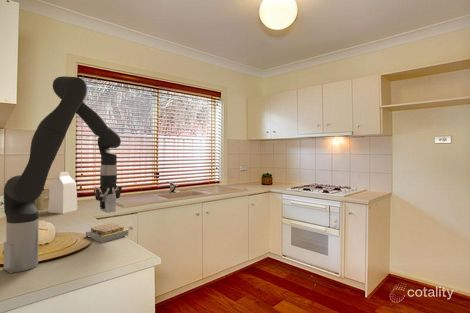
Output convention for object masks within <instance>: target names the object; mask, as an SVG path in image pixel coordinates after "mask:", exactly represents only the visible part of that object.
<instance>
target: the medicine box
mask: <svg viewBox="0 0 470 313" xmlns="http://www.w3.org/2000/svg"><path fill="white" fill-rule="evenodd" d="M103 195H104V194H103ZM100 197H101V196H100ZM116 201H117V199H116V195H115V194H107V195H106V196H105V201H104V202H105V209H101V208H100V207H99V208H100V211H101V212H104V213H107V214H108V213H115V212H117V211H116V210H117V209H116V208H117V204H116V203H117V202H116Z"/></svg>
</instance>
